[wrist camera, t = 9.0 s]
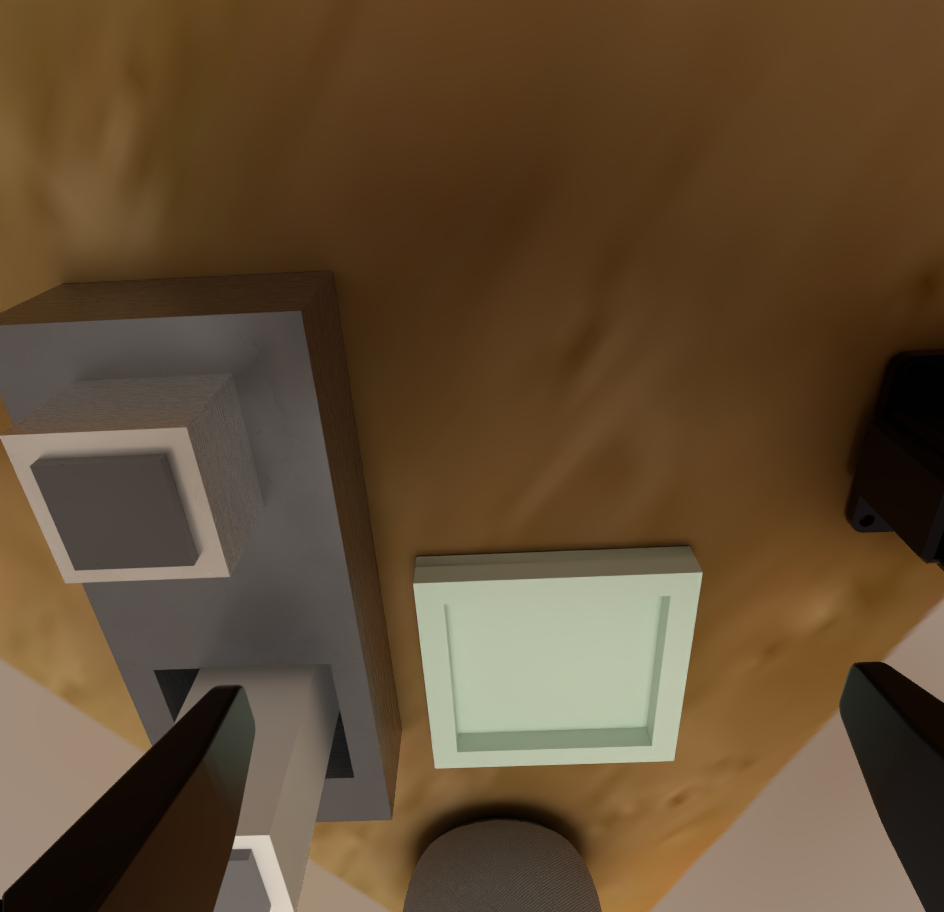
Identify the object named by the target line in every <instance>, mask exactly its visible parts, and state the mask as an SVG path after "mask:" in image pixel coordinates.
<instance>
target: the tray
mask: <svg viewBox="0 0 944 912" xmlns="http://www.w3.org/2000/svg"><path fill="white" fill-rule="evenodd" d="M702 574H703V572H702V570H701V568H700V566H699V564H698V562H697V559H696V557H695V555H694V553H693V551H692V549H691V547H690V546H679V547H654V548H628V549H603V550H578V551H552V552H527V553H502V554H476V555H451V556H426V557H416V564H415V572H414V580H413V587H414V595H415V604H416V612H417V620H418V629H419V637H420V646H421V654H422V663H423V671H424V679H425V688H426V696H427V705H428V713H429V721H430V730H431V738H432V747H433V755H434V764H435V768H466V767H497V766H529V765H560V764H592V763H623V762H655V761H674V756H675V750H676V743H677V737H678V730H679V724H680V717H681V711H682V704H683V698H684V691H685V685H686V678H687V672H688V665H689V659H690V652H691V646H692V639H693V633H694V626H695V619H696V613H697V606H698V600H699V593H700V587H701V580H702Z"/></svg>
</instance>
